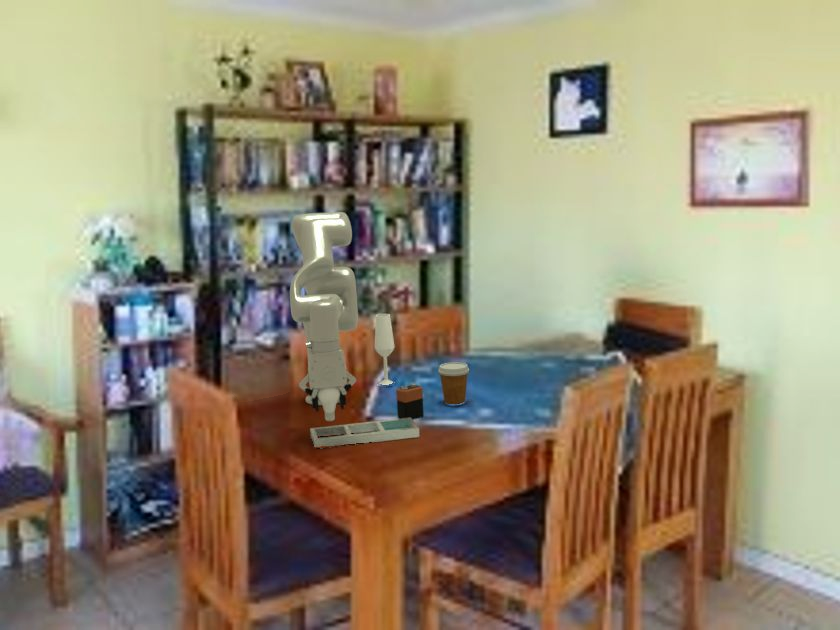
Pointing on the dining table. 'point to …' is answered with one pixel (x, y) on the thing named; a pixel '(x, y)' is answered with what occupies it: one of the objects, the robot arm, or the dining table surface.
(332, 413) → the lightbulb
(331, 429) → the rail
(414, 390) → the battery
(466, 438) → the dining table surface
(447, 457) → the dining table surface
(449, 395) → the disposable coffee cup
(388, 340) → the champagne flute
